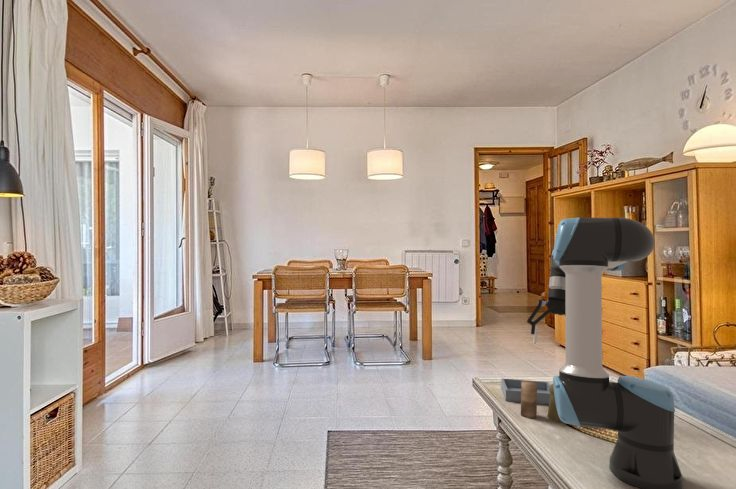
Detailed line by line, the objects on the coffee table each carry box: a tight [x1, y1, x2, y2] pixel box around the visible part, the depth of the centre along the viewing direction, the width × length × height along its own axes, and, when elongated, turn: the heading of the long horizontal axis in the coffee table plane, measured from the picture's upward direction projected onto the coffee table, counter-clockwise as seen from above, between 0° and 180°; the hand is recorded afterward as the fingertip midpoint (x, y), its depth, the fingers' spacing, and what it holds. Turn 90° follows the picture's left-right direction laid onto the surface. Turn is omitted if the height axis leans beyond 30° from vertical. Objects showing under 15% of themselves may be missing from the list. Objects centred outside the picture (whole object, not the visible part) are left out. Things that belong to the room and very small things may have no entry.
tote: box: [500, 377, 551, 406], centre depth 161 cm, size 15×18×4 cm
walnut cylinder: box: [520, 380, 538, 419], centre depth 142 cm, size 5×5×11 cm
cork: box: [546, 383, 563, 423], centre depth 140 cm, size 6×6×11 cm
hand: (554, 347), depth 153 cm, fingers open, 13 cm apart
